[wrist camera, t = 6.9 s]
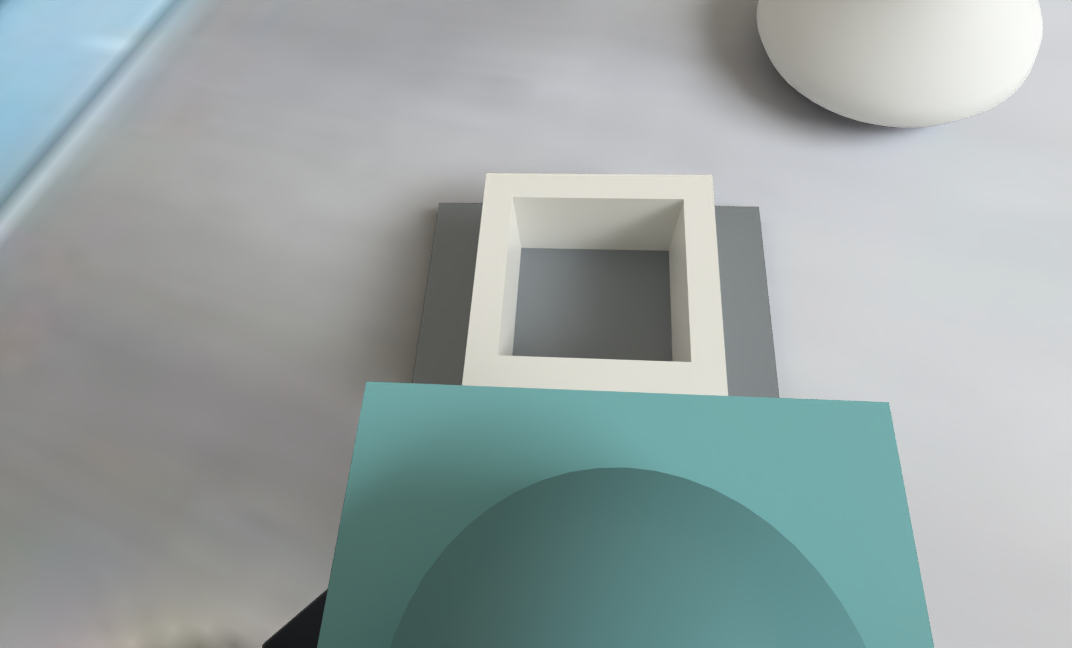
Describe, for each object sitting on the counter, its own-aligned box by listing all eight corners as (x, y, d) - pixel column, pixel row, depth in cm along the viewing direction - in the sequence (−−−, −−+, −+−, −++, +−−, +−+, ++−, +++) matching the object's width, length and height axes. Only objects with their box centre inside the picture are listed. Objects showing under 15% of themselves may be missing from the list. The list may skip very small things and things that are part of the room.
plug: (676, 711, 14) (1246, 1519, 2) (497, 696, 14) (101, 1304, 2) (670, 521, 16) (964, 361, 4) (510, 512, 16) (320, 340, 4)
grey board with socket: (814, 788, 16) (883, 853, 12) (363, 745, 17) (305, 793, 14) (754, 215, 23) (787, 149, 20) (442, 210, 25) (418, 148, 21)
